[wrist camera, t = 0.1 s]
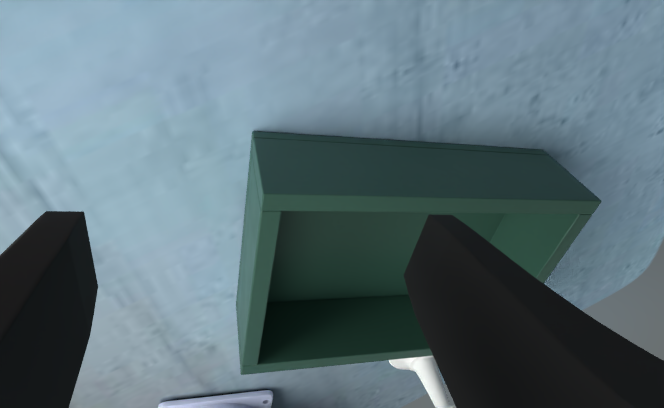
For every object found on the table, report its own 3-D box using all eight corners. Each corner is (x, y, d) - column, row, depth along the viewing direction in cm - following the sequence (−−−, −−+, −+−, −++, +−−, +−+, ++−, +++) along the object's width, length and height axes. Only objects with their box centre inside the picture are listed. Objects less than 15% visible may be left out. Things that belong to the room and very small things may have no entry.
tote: (463, 292, 30) (497, 349, 27) (235, 304, 26) (240, 375, 22) (543, 149, 23) (602, 201, 20) (252, 130, 19) (263, 193, 15)
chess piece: (395, 325, 31) (457, 479, 23) (455, 321, 32) (532, 464, 25) (377, 364, 34) (427, 513, 26) (433, 358, 35) (496, 497, 27)
